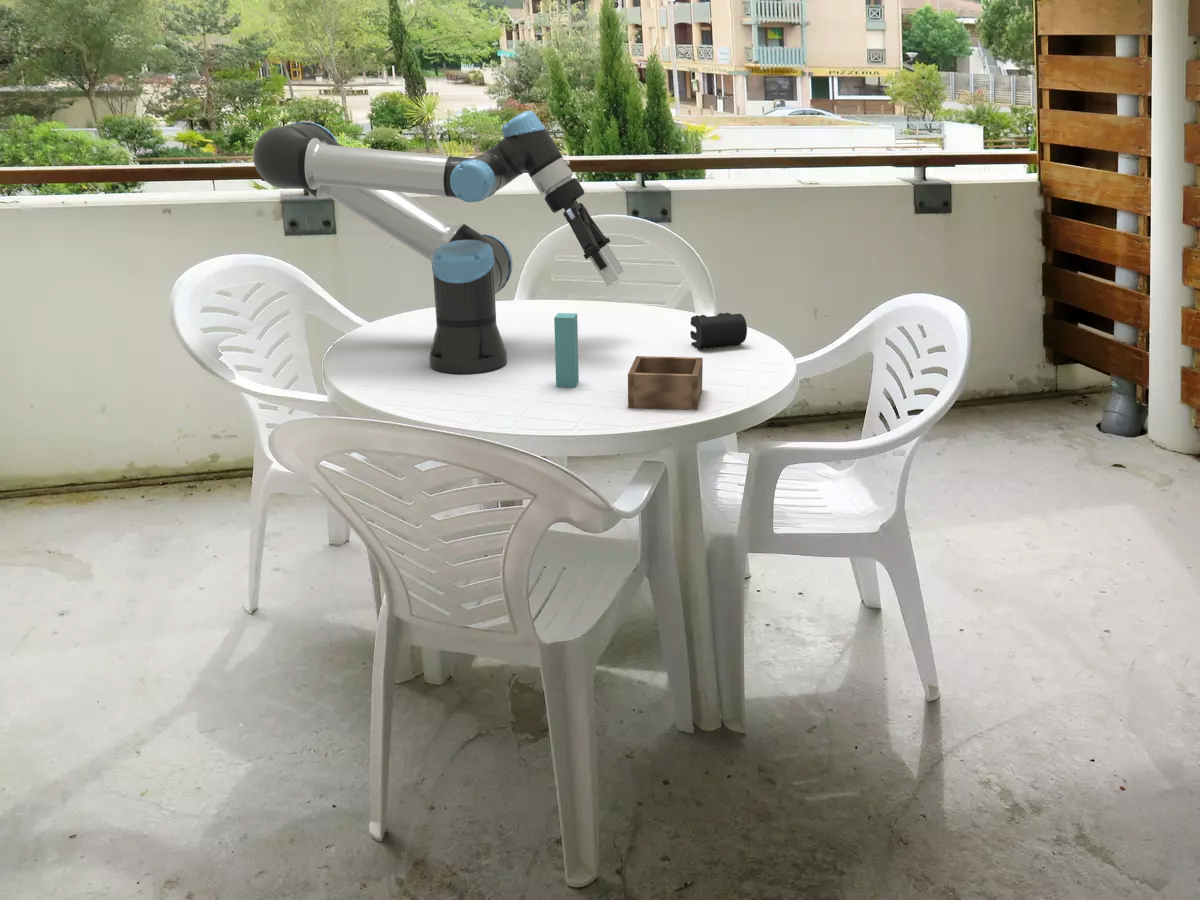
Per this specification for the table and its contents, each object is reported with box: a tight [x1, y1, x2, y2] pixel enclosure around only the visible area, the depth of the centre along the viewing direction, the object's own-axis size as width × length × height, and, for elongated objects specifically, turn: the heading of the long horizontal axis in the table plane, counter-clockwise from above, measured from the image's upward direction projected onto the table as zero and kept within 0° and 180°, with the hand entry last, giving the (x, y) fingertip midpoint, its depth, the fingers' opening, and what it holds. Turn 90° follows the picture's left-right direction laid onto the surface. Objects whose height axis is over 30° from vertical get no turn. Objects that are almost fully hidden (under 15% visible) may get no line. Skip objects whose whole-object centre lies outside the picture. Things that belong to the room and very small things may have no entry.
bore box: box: [627, 355, 704, 411], centre depth 206 cm, size 12×12×6 cm
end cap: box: [689, 311, 748, 351], centre depth 240 cm, size 10×7×7 cm
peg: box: [553, 312, 580, 388], centre depth 215 cm, size 4×4×13 cm
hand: (616, 278), depth 233 cm, fingers open, 13 cm apart
